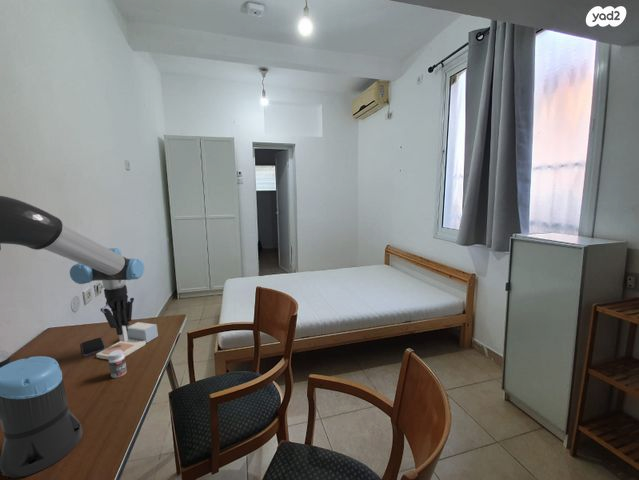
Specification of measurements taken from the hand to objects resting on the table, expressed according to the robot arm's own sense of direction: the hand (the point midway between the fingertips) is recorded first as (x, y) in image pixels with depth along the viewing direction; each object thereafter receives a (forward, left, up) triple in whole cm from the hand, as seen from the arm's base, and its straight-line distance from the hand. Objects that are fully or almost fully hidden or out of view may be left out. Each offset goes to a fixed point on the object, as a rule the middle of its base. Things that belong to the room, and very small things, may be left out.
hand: (124, 340), depth 121 cm
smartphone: (-2, +16, -4) cm, 17 cm away
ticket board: (-1, 0, -4) cm, 4 cm away
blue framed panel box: (+9, 0, -3) cm, 9 cm away
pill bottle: (-14, -14, -4) cm, 20 cm away
